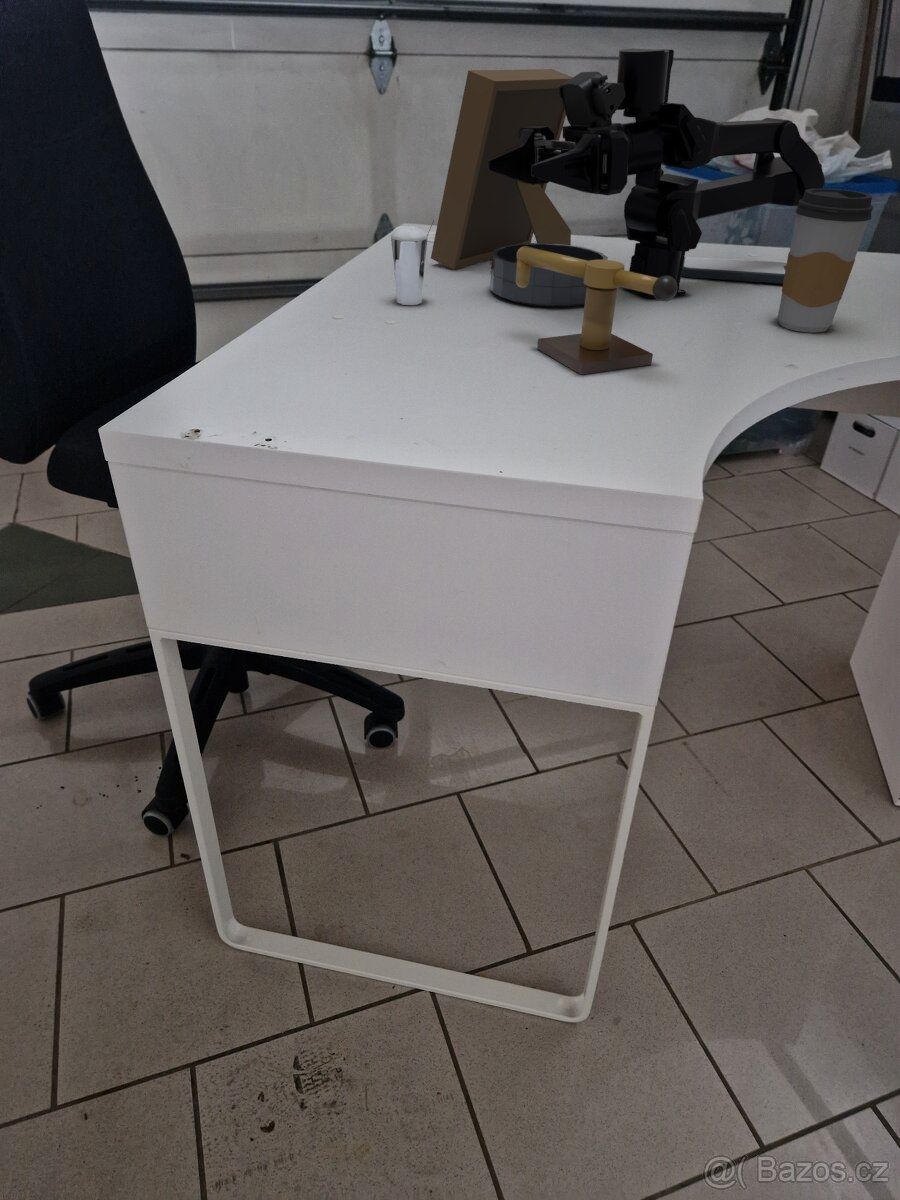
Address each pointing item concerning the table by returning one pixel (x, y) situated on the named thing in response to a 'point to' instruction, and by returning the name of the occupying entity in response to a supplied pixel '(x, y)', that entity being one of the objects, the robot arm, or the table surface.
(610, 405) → the table surface
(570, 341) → the faucet base
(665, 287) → the faucet
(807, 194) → the coffee cup
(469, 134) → the photo frame
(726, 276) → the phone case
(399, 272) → the milkshake
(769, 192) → the robot arm
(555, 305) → the basin
